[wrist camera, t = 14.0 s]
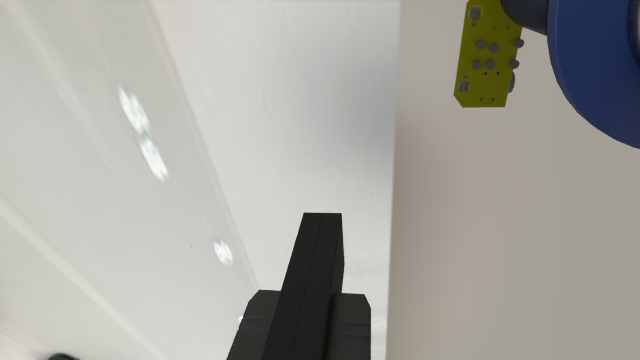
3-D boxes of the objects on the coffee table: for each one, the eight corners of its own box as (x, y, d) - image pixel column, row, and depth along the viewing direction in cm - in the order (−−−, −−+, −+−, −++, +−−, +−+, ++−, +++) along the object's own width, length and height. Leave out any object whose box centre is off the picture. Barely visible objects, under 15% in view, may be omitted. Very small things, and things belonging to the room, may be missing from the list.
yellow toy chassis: (511, 108, 51) (452, 108, 52) (499, 96, 56) (445, 97, 57) (541, -17, 43) (470, -13, 44) (523, -18, 48) (460, -15, 49)
